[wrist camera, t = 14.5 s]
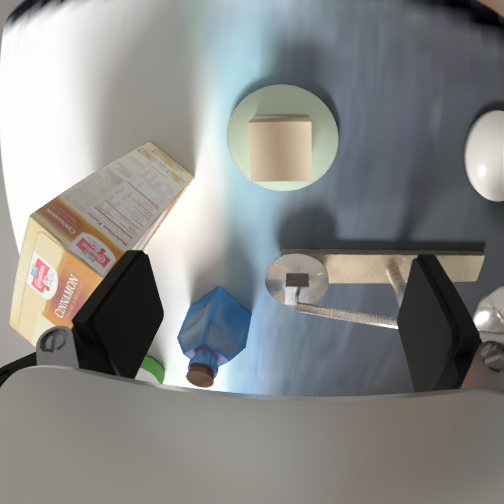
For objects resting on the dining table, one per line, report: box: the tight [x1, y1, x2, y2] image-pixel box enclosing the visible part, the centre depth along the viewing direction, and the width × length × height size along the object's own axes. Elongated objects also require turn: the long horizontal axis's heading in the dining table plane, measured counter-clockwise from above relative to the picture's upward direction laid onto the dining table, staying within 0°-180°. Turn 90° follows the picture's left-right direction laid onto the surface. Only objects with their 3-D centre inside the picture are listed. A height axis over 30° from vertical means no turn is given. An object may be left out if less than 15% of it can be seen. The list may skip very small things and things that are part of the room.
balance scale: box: [265, 249, 504, 342], centre depth 30 cm, size 30×7×15 cm, turn 94°
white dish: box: [464, 110, 504, 201], centre depth 26 cm, size 11×11×1 cm
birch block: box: [247, 114, 312, 182], centre depth 27 cm, size 5×5×6 cm
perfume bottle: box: [177, 286, 252, 387], centre depth 38 cm, size 6×6×12 cm
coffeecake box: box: [10, 141, 195, 347], centre depth 28 cm, size 15×7×20 cm, turn 140°
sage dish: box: [227, 84, 338, 191], centre depth 30 cm, size 11×11×1 cm
